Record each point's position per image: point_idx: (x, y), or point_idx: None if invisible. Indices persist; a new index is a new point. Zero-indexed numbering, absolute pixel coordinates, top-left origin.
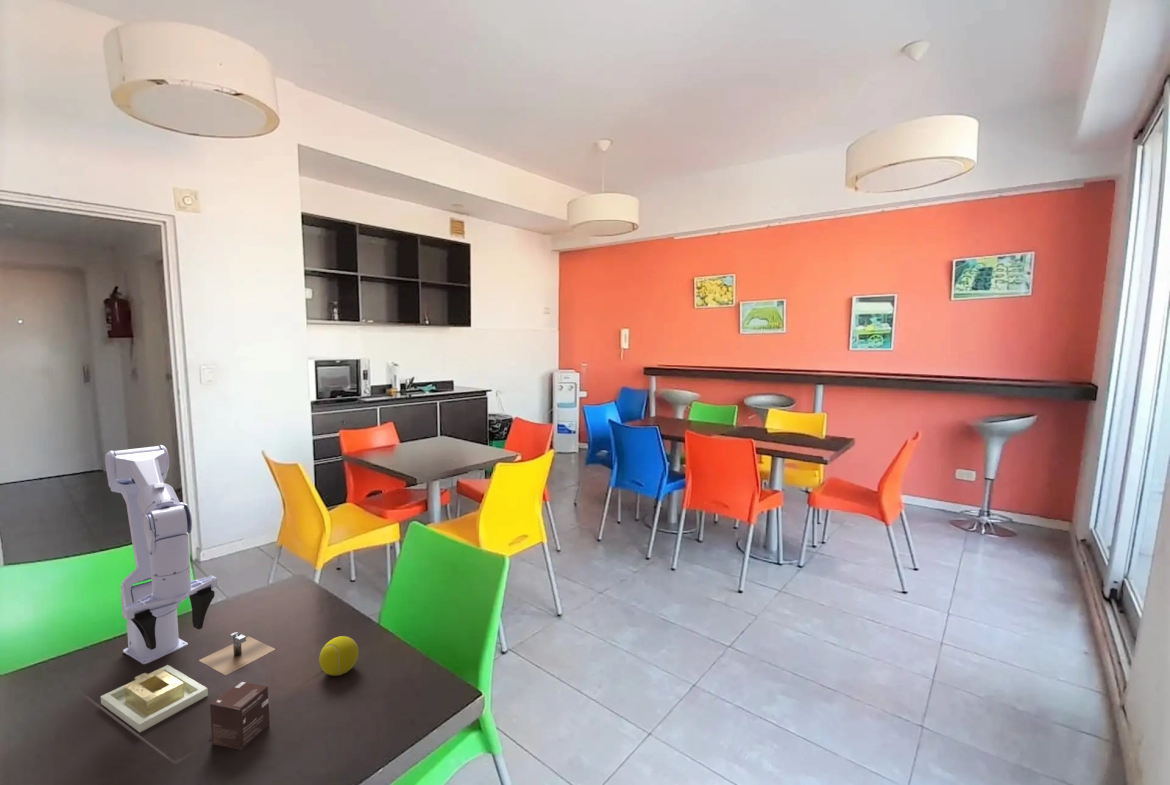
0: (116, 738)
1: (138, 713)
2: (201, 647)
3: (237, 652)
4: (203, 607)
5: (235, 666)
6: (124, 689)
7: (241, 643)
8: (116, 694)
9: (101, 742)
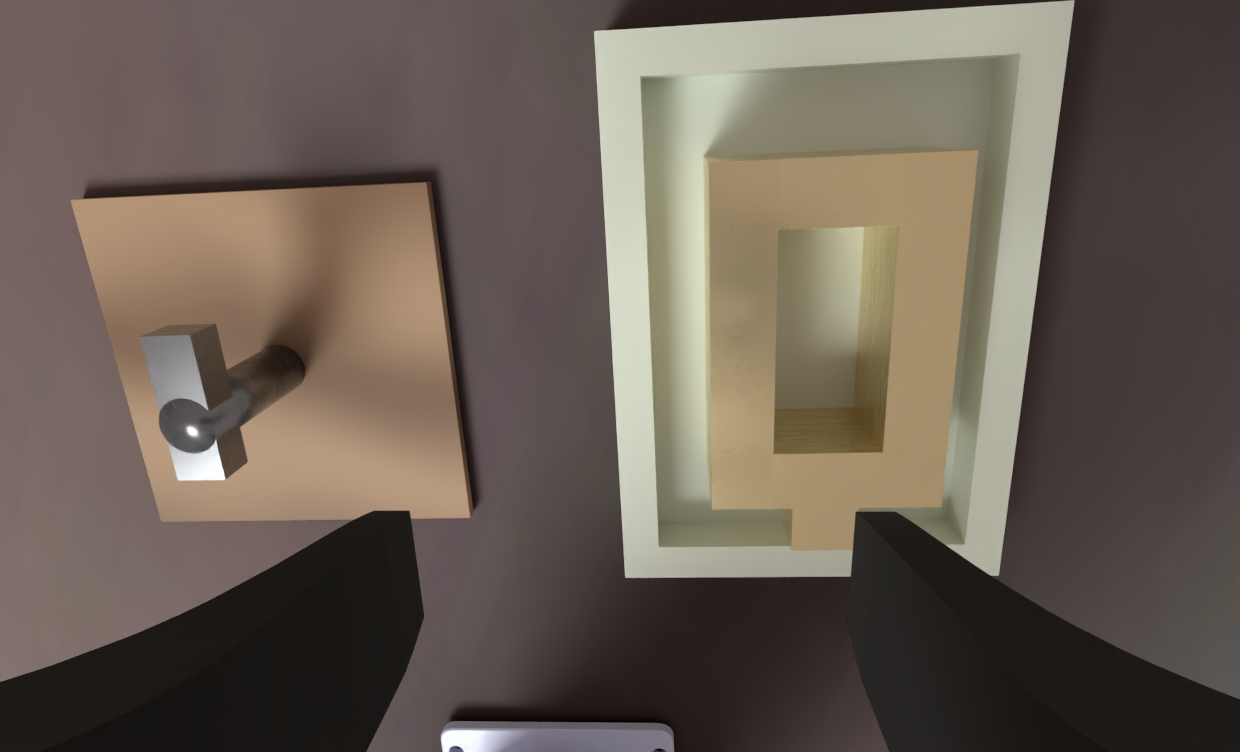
0: (1114, 117)
1: None
2: None
3: (274, 356)
4: (178, 658)
5: (342, 236)
6: None
7: None
8: None
9: (1172, 159)
